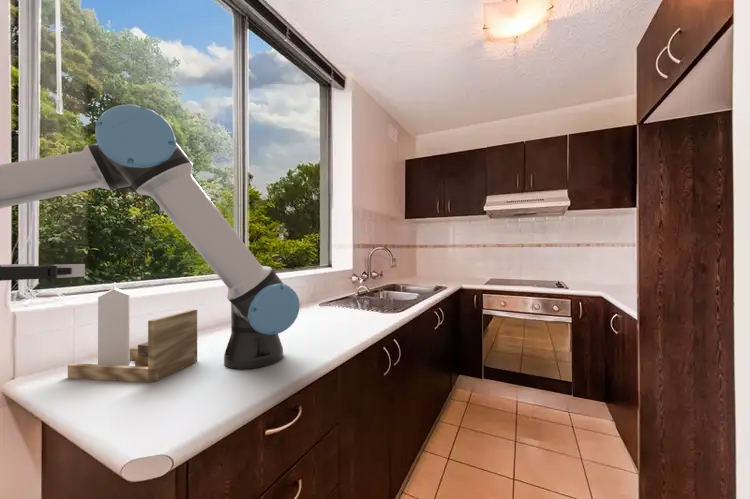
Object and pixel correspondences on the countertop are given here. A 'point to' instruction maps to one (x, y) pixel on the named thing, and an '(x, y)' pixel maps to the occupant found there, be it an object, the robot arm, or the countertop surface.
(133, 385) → the countertop surface
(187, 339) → the rack
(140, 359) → the offcut
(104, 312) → the milk
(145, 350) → the offcut
